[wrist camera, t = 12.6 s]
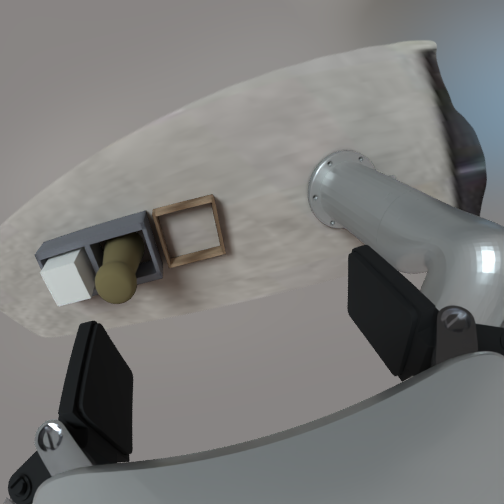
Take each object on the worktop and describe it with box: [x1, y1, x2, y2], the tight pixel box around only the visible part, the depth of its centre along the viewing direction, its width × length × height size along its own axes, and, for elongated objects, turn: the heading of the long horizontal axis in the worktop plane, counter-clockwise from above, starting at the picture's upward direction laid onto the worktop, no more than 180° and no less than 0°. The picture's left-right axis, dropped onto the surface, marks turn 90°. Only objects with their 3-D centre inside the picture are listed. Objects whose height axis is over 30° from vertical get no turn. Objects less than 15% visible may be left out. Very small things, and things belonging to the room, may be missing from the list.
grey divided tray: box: [35, 211, 163, 296], centre depth 38 cm, size 17×9×4 cm, turn 99°
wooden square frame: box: [152, 194, 226, 268], centre depth 41 cm, size 8×8×2 cm
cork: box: [95, 232, 145, 304], centre depth 36 cm, size 6×6×11 cm
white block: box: [40, 247, 96, 306], centre depth 37 cm, size 6×6×7 cm
